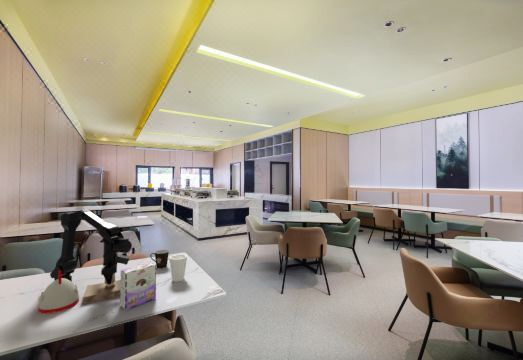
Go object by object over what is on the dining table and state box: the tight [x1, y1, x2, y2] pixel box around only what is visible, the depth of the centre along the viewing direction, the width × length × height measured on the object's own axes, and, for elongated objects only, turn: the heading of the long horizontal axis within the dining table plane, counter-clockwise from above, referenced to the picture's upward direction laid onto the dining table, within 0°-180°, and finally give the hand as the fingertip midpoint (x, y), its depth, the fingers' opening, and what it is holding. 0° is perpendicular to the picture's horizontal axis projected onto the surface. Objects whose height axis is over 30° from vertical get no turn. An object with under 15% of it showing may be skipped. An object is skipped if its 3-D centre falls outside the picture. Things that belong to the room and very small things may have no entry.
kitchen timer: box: [37, 271, 80, 315], centre depth 107 cm, size 14×14×15 cm
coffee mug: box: [149, 249, 170, 270], centre depth 157 cm, size 12×9×10 cm
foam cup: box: [168, 254, 188, 283], centre depth 136 cm, size 10×9×13 cm
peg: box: [104, 273, 116, 289], centre depth 120 cm, size 4×4×8 cm
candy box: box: [119, 262, 157, 311], centre depth 110 cm, size 14×6×16 cm, turn 141°
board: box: [82, 279, 121, 304], centre depth 119 cm, size 16×14×3 cm
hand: (109, 282), depth 120 cm, fingers closed on peg, 4 cm apart
